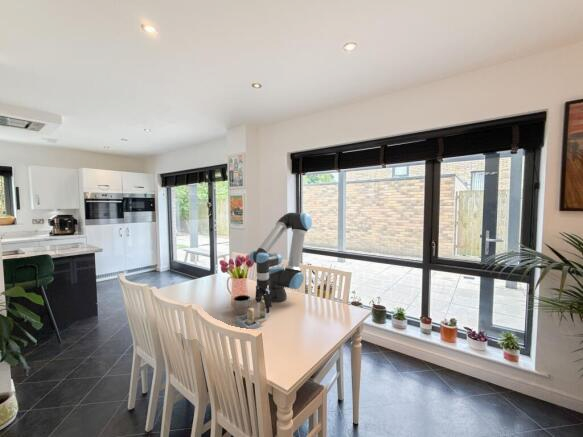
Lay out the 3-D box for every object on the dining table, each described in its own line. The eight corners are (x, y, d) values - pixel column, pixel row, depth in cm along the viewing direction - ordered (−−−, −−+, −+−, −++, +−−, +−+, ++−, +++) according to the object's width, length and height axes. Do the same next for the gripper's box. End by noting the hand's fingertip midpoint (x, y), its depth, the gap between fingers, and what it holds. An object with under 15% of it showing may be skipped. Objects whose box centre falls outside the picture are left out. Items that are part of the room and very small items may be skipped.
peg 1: (252, 324, 148) (251, 307, 148) (255, 326, 145) (255, 309, 144) (245, 326, 146) (245, 309, 145) (249, 329, 143) (248, 311, 142)
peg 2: (264, 315, 161) (264, 299, 160) (267, 317, 157) (267, 301, 157) (258, 316, 158) (258, 301, 158) (262, 319, 155) (261, 303, 154)
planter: (254, 311, 168) (253, 296, 167) (242, 317, 158) (242, 302, 158) (241, 307, 173) (241, 293, 173) (229, 313, 164) (229, 299, 163)
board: (250, 317, 159) (250, 312, 159) (263, 327, 146) (263, 322, 146) (232, 322, 152) (231, 318, 151) (244, 333, 139) (244, 328, 139)
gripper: (249, 275, 163) (249, 310, 164) (266, 284, 146) (266, 323, 147) (259, 273, 167) (260, 308, 168) (277, 281, 150) (277, 319, 151)
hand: (263, 315), depth 158 cm, fingers open, 8 cm apart
